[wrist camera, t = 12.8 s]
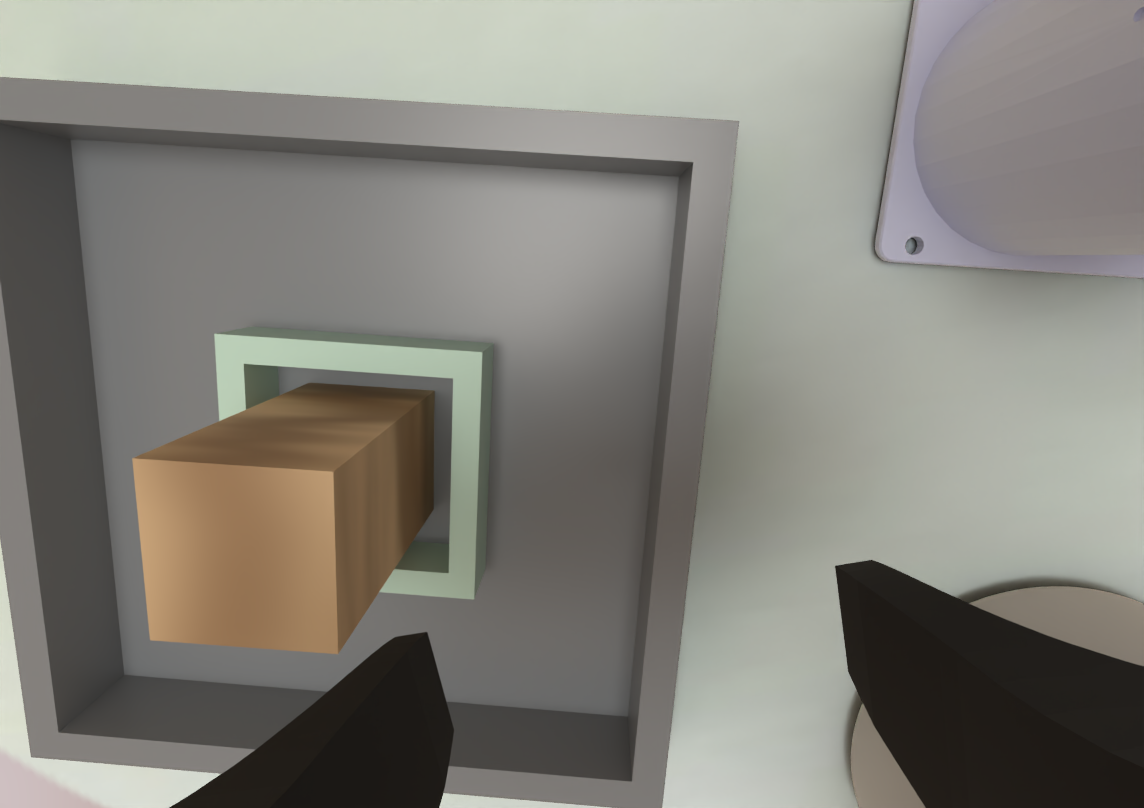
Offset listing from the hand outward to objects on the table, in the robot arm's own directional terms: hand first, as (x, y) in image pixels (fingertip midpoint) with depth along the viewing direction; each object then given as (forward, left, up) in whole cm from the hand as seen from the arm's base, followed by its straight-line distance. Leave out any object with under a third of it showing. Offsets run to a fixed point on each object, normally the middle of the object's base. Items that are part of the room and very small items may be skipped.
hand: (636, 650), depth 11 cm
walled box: (+8, 0, -10) cm, 13 cm away
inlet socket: (+8, 0, -10) cm, 13 cm away
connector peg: (+8, 0, -10) cm, 13 cm away
